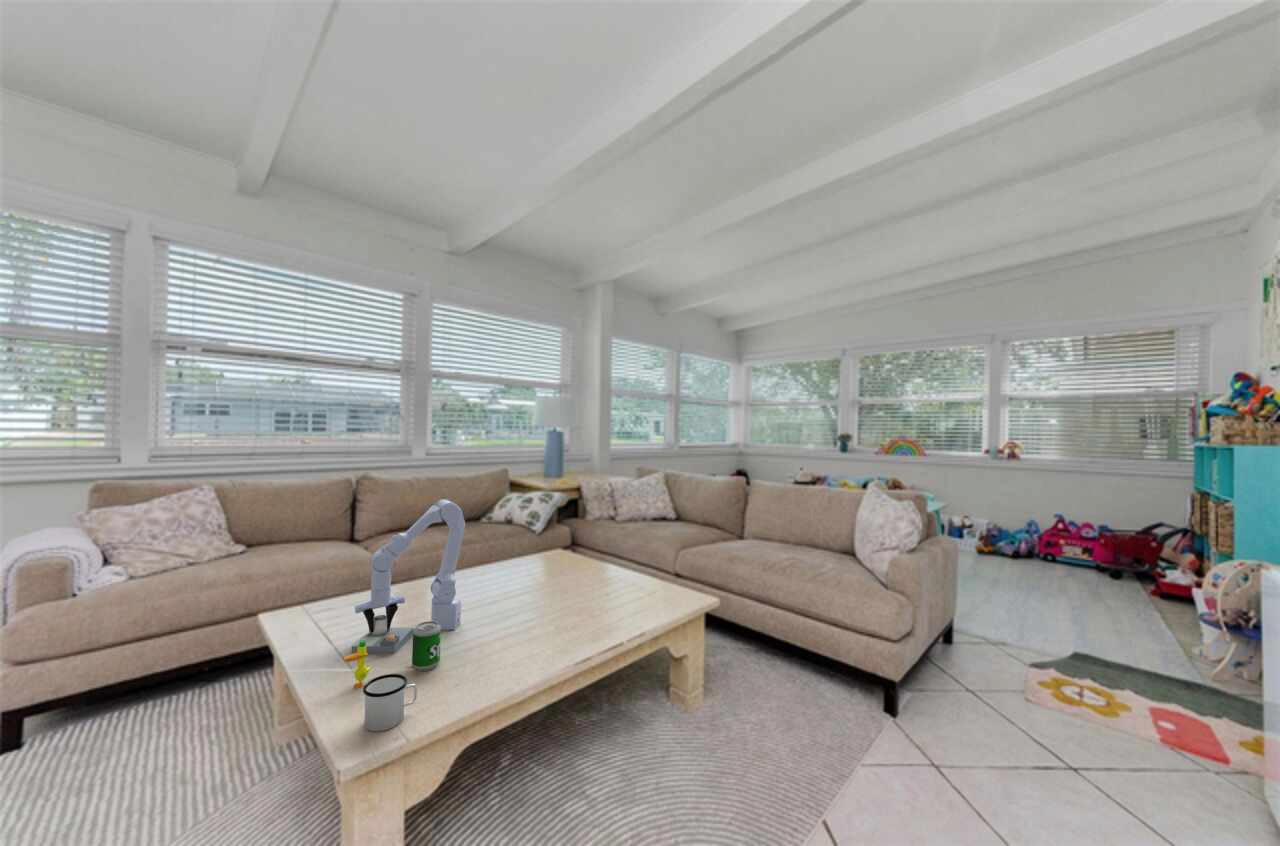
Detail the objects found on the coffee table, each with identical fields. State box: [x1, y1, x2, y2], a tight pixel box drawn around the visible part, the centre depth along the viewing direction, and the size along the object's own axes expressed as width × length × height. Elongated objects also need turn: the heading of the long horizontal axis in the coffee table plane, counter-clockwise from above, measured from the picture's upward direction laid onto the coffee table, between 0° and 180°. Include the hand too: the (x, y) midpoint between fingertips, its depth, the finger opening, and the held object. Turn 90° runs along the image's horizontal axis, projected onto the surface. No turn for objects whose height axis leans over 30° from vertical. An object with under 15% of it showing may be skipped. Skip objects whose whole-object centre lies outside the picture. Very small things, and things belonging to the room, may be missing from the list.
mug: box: [362, 673, 418, 732], centre depth 117 cm, size 12×10×9 cm
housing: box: [351, 627, 414, 654], centre depth 156 cm, size 13×14×4 cm
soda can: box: [411, 620, 442, 672], centre depth 142 cm, size 8×8×12 cm
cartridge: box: [372, 614, 388, 635], centre depth 159 cm, size 4×4×7 cm
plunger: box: [385, 635, 395, 641], centre depth 151 cm, size 3×3×2 cm
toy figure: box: [343, 640, 372, 689], centre depth 131 cm, size 7×4×12 cm, turn 132°
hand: (379, 629), depth 159 cm, fingers closed on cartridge, 4 cm apart
